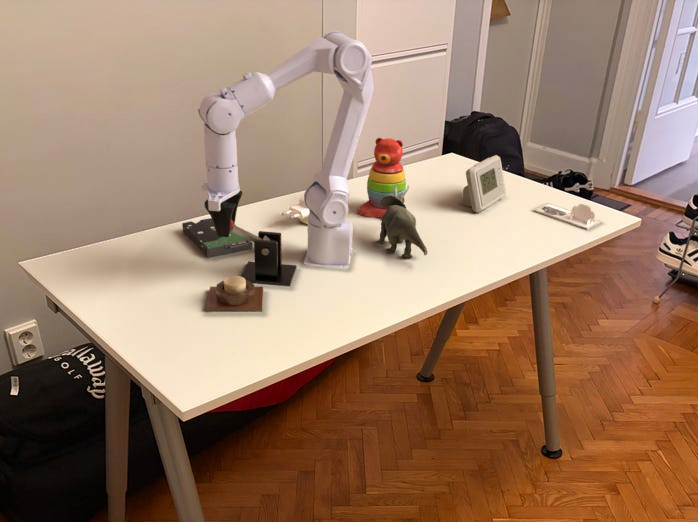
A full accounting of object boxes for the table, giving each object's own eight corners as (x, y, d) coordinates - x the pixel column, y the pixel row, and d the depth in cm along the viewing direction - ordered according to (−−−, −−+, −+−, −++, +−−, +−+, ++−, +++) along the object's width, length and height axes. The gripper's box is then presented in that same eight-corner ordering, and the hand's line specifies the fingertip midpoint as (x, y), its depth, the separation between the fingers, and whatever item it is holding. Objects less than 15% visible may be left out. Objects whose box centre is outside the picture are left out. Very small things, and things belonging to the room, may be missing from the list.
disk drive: (182, 234, 159) (208, 260, 149) (180, 223, 158) (207, 248, 147) (225, 226, 164) (254, 250, 154) (224, 214, 163) (253, 238, 152)
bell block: (263, 293, 139) (262, 277, 137) (262, 314, 132) (261, 297, 130) (210, 293, 138) (209, 276, 136) (207, 314, 131) (205, 297, 129)
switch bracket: (239, 284, 141) (237, 243, 136) (248, 266, 148) (246, 226, 143) (290, 288, 141) (289, 247, 136) (296, 270, 148) (296, 230, 143)
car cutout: (600, 222, 178) (604, 205, 176) (587, 229, 174) (591, 212, 171) (547, 204, 186) (551, 188, 184) (534, 211, 182) (537, 194, 180)
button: (246, 284, 135) (246, 275, 134) (245, 294, 132) (245, 285, 131) (225, 284, 135) (224, 275, 134) (223, 294, 132) (223, 285, 131)
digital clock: (476, 215, 177) (482, 174, 171) (448, 204, 183) (453, 163, 177) (515, 201, 187) (522, 161, 181) (487, 191, 192) (493, 151, 186)
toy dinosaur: (428, 271, 151) (434, 221, 144) (389, 273, 149) (393, 222, 143) (402, 228, 168) (406, 182, 162) (367, 230, 167) (370, 183, 160)
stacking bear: (355, 214, 174) (359, 141, 164) (371, 201, 182) (375, 130, 172) (397, 223, 171) (403, 149, 161) (411, 209, 179) (418, 137, 169)
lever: (212, 230, 138) (218, 217, 136) (216, 224, 141) (222, 210, 139) (269, 258, 140) (276, 245, 139) (272, 251, 143) (279, 238, 141)
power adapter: (293, 233, 163) (293, 208, 160) (279, 226, 165) (278, 202, 162) (328, 220, 170) (329, 197, 167) (314, 214, 172) (314, 191, 169)
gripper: (210, 149, 138) (214, 216, 146) (189, 175, 126) (195, 246, 134) (246, 152, 138) (249, 218, 146) (228, 178, 126) (232, 249, 134)
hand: (225, 232), depth 140 cm, fingers closed on lever, 3 cm apart
